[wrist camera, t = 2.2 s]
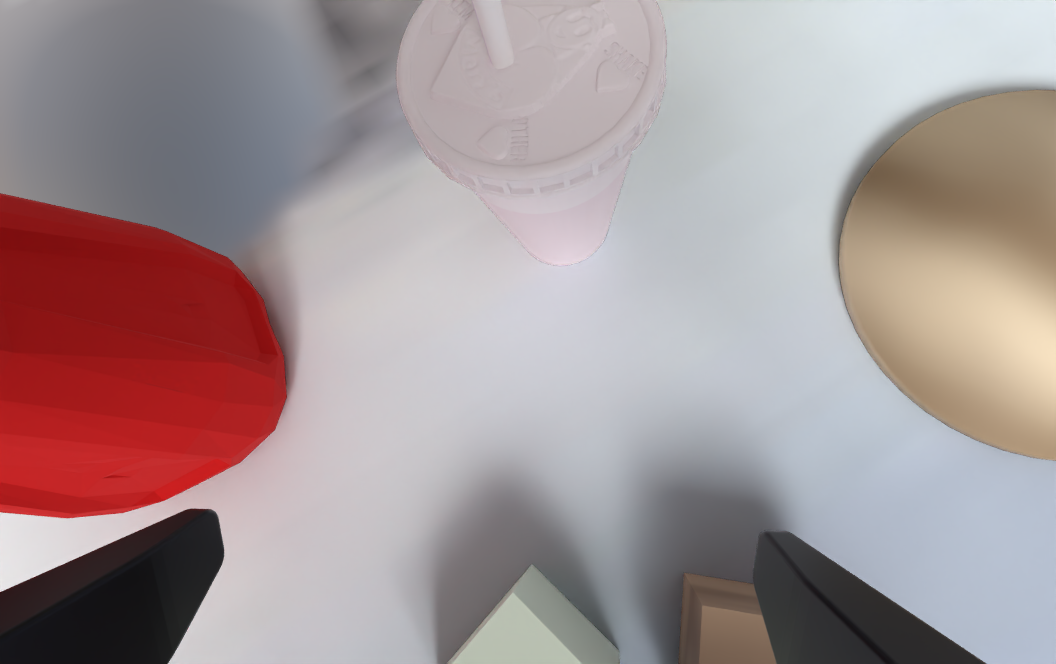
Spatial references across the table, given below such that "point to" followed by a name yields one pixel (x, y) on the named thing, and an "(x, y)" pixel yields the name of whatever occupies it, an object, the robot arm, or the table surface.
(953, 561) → the table surface
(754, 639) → the walnut block
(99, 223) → the water bottle
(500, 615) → the sage block
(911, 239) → the gold metal coaster
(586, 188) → the smoothie
